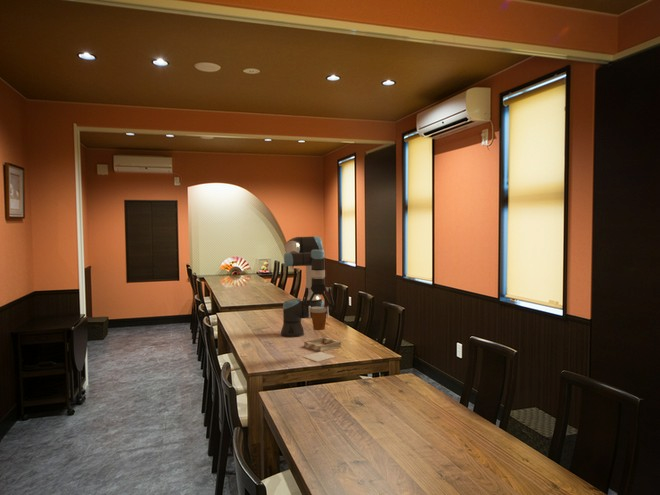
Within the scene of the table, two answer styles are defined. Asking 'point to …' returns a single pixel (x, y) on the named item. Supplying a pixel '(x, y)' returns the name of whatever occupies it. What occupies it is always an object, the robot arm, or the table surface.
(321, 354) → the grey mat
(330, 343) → the square wooden tray
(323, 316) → the disposable coffee cup
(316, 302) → the robot arm
